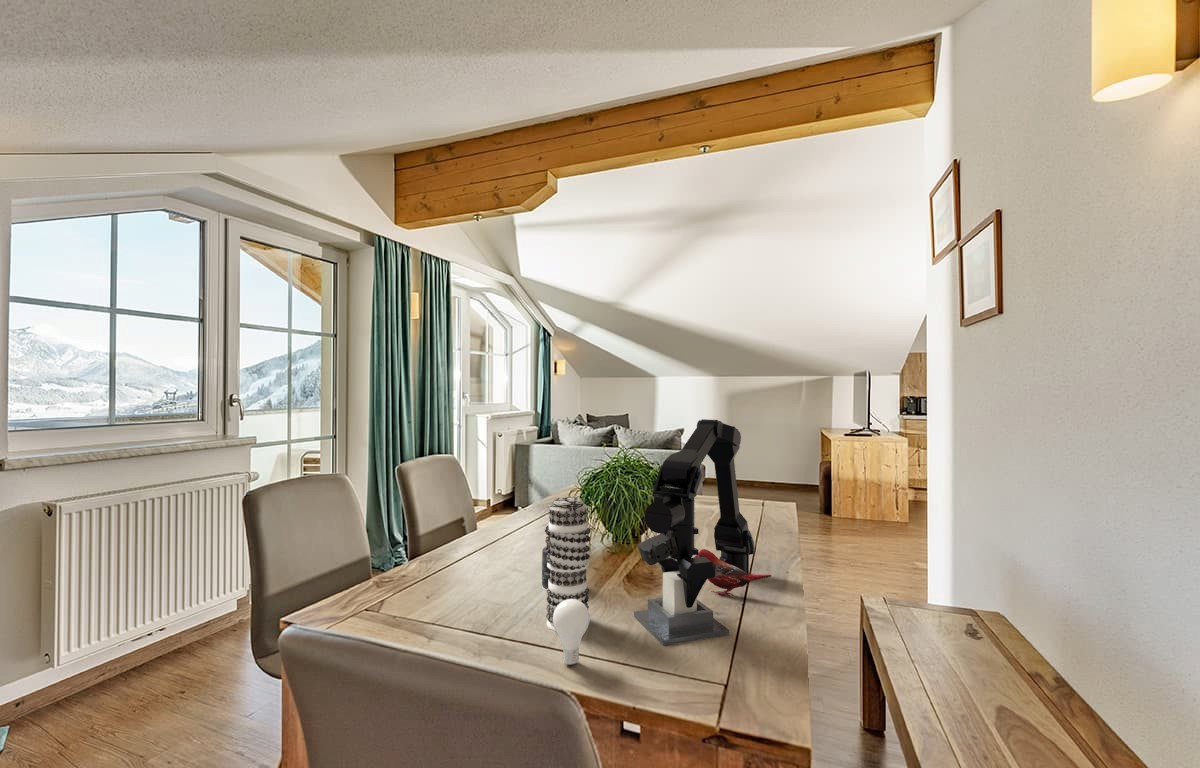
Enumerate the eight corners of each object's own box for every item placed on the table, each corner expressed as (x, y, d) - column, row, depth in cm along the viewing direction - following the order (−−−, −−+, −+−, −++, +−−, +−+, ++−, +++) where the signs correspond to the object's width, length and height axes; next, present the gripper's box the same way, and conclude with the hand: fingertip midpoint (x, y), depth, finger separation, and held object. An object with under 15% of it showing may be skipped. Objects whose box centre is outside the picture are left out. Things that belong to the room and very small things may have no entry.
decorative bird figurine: (695, 588, 133) (695, 546, 133) (773, 601, 125) (773, 556, 125) (692, 592, 130) (692, 549, 130) (770, 605, 122) (770, 559, 122)
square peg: (684, 613, 115) (684, 570, 115) (696, 623, 110) (696, 577, 110) (662, 617, 113) (662, 572, 113) (674, 627, 109) (674, 580, 109)
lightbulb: (552, 655, 99) (552, 593, 99) (588, 654, 99) (588, 592, 100) (552, 674, 93) (552, 607, 93) (590, 672, 93) (591, 606, 93)
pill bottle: (563, 590, 131) (563, 542, 131) (538, 588, 132) (538, 540, 132) (569, 582, 137) (569, 535, 137) (546, 580, 138) (546, 534, 138)
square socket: (693, 607, 121) (693, 589, 121) (729, 634, 108) (729, 614, 108) (633, 616, 116) (633, 597, 116) (663, 645, 103) (663, 624, 103)
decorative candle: (573, 637, 106) (574, 506, 106) (535, 626, 111) (535, 500, 111) (599, 620, 114) (599, 498, 114) (562, 611, 119) (562, 493, 119)
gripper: (625, 515, 118) (625, 589, 118) (664, 537, 101) (663, 624, 100) (672, 511, 122) (672, 583, 122) (718, 532, 104) (718, 616, 104)
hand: (679, 600), depth 112 cm, fingers open, 7 cm apart
